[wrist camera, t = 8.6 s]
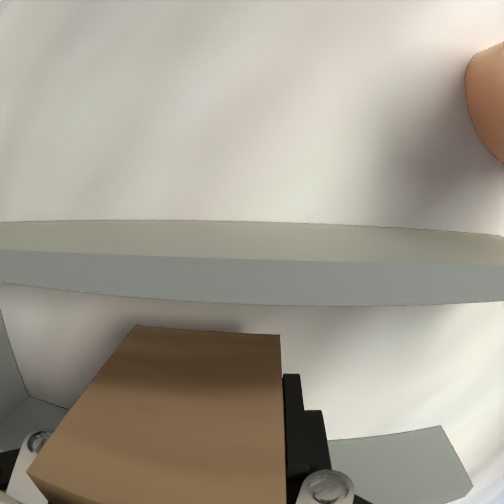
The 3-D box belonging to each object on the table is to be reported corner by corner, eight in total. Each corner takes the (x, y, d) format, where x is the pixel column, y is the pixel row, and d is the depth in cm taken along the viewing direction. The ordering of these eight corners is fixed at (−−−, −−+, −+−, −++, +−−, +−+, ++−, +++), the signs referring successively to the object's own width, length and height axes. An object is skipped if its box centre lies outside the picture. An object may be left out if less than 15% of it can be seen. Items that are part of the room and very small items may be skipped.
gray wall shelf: (-25, 223, 12) (-92, 244, 7) (498, 235, 11) (575, 266, 6) (73, 492, 18) (53, 531, 13) (383, 519, 17) (394, 565, 12)
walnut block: (135, 325, 10) (25, 471, 4) (279, 334, 10) (286, 531, 4) (155, 424, 12) (101, 556, 5) (271, 435, 12) (268, 586, 5)
